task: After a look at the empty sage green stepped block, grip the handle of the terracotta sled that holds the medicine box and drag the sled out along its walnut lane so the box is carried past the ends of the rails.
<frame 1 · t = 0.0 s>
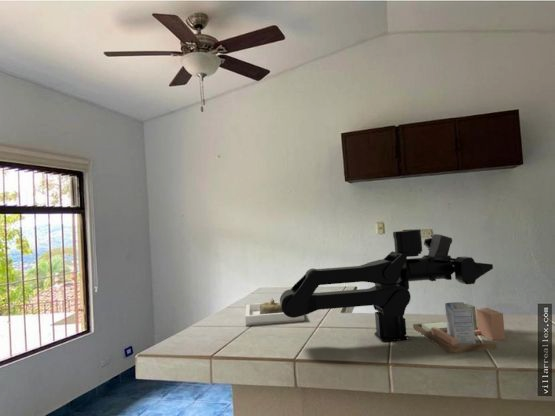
hand: (481, 264, 102), 17 cm above the worktop, tool horizontal, fingers open, 9 cm apart
cake: (273, 315, 131), resting on white ceramic dish
lane rails: (453, 337, 97), on the worktop
white ceramic dish: (273, 316, 131), on the worktop
sage green stepped block: (448, 318, 103), point 3 cm above the worktop, slide at 0.0 cm
medicine box: (461, 343, 93), on the worktop
terracotta sled: (471, 327, 94), point 3 cm above the worktop, slide at 0.0 cm
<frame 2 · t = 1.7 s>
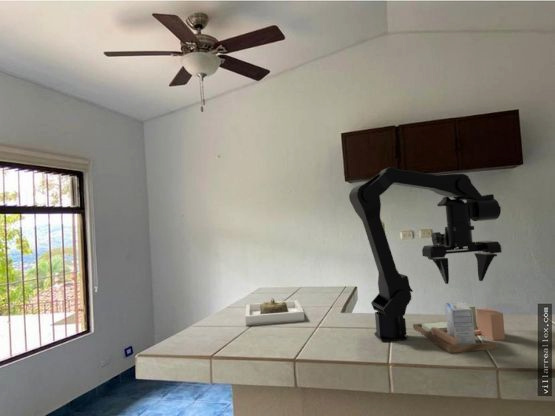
hand: (463, 282, 104), 12 cm above the worktop, tool pointing down, fingers open, 9 cm apart
nothing on the worktop moved.
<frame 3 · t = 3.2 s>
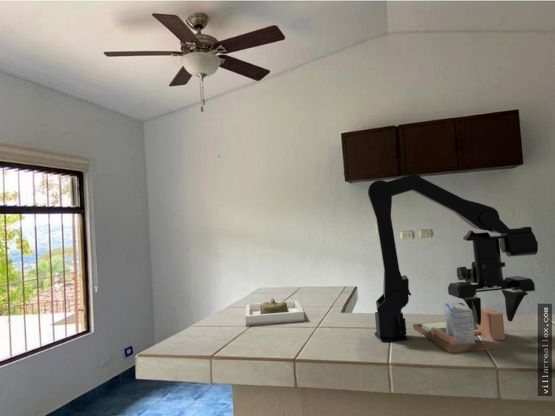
hand: (494, 322, 95), 3 cm above the worktop, tool pointing down, fingers open, 7 cm apart
medicine box: (460, 344, 93), on the worktop, touching gripper
everything else where it was.
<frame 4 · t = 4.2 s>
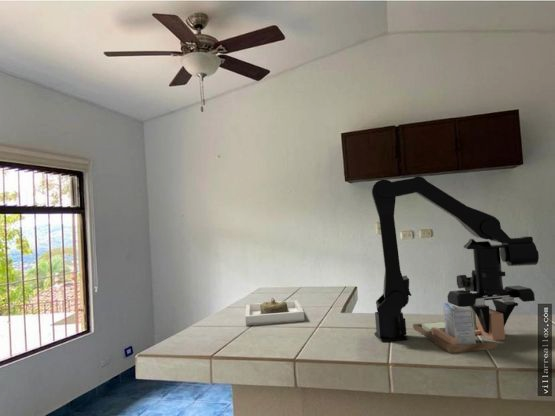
hand: (493, 331, 95), 1 cm above the worktop, tool pointing down, fingers closed on terracotta sled, 3 cm apart
medicine box: (460, 343, 93), on the worktop
terracotta sled: (471, 327, 94), point 3 cm above the worktop, slide at 0.0 cm, touching gripper
everything else where it was.
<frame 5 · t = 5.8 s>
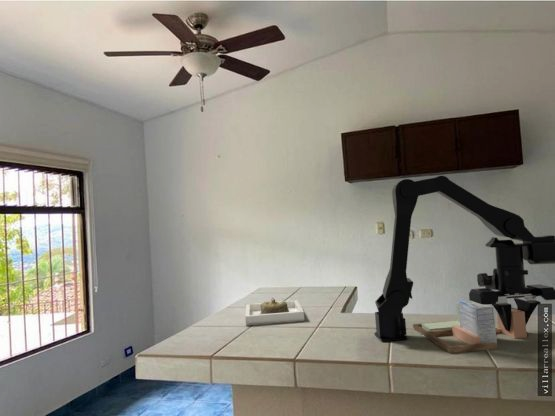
hand: (514, 330, 96), 1 cm above the worktop, tool pointing down, fingers closed on terracotta sled, 3 cm apart
medicine box: (478, 341, 93), on the worktop
terracotta sled: (492, 326, 94), point 3 cm above the worktop, slide at 5.3 cm, touching gripper
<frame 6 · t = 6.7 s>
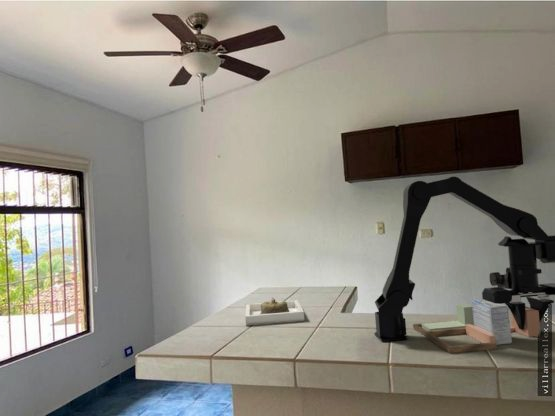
hand: (528, 328, 96), 1 cm above the worktop, tool pointing down, fingers closed on terracotta sled, 3 cm apart
medicine box: (492, 340, 94), on the worktop, touching terracotta sled
terracotta sled: (507, 324, 94), point 3 cm above the worktop, slide at 8.8 cm, touching gripper, medicine box
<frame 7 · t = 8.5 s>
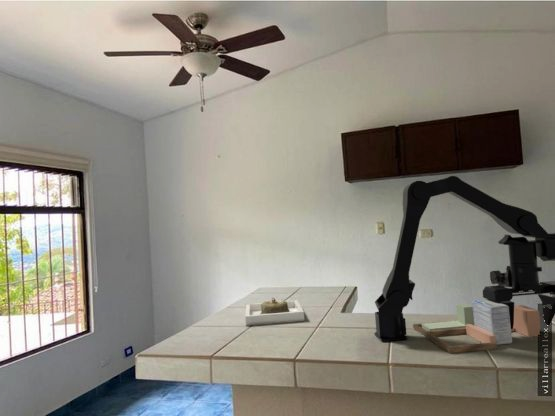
hand: (528, 327, 96), 2 cm above the worktop, tool pointing down, fingers open, 9 cm apart
medicine box: (493, 340, 94), on the worktop
terracotta sled: (507, 324, 94), point 3 cm above the worktop, slide at 8.9 cm
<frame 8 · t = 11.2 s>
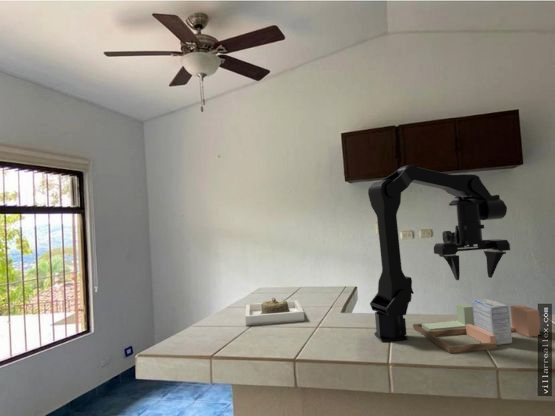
hand: (473, 278, 108), 12 cm above the worktop, tool pointing down, fingers open, 9 cm apart
at the end: medicine box inside the target area (1.4 cm from its centre), on the worktop; medicine box tilted 0°; terracotta sled slide at 8.9 cm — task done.
